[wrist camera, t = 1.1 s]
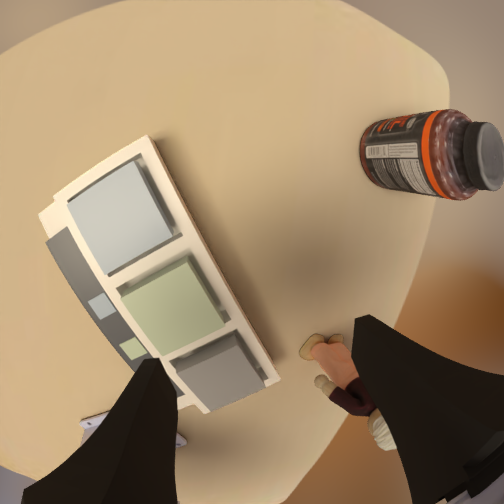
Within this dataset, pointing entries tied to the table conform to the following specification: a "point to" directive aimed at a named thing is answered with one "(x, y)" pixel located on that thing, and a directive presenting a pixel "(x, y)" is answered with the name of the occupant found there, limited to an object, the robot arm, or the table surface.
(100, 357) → the table surface
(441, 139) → the supplement bottle
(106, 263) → the slate key
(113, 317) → the keypad
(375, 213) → the table surface
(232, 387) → the grey key
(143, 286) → the sage key
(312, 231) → the table surface
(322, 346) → the grandmother figurine
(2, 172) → the table surface
